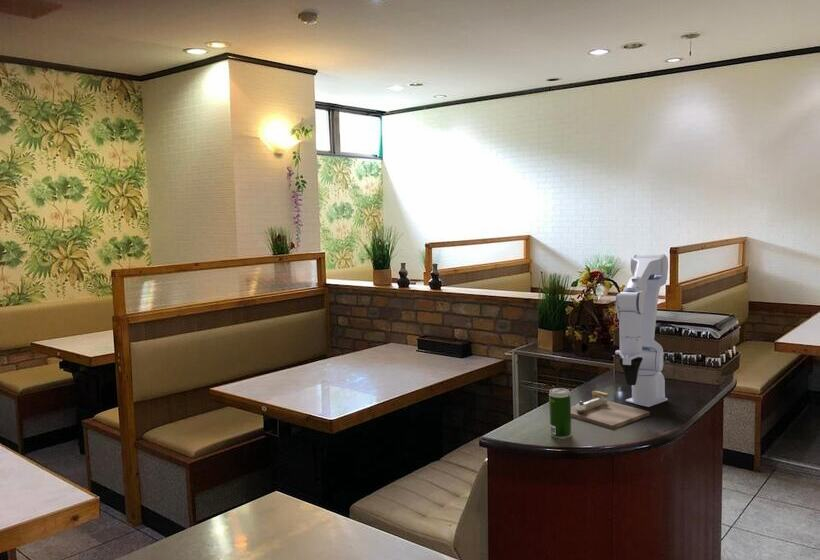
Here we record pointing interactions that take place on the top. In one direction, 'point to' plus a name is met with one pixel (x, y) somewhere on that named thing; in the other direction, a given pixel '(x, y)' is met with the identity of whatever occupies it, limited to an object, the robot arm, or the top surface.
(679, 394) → the top surface
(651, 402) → the robot arm
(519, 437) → the top surface
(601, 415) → the board
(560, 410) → the beer can
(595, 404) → the steel link
